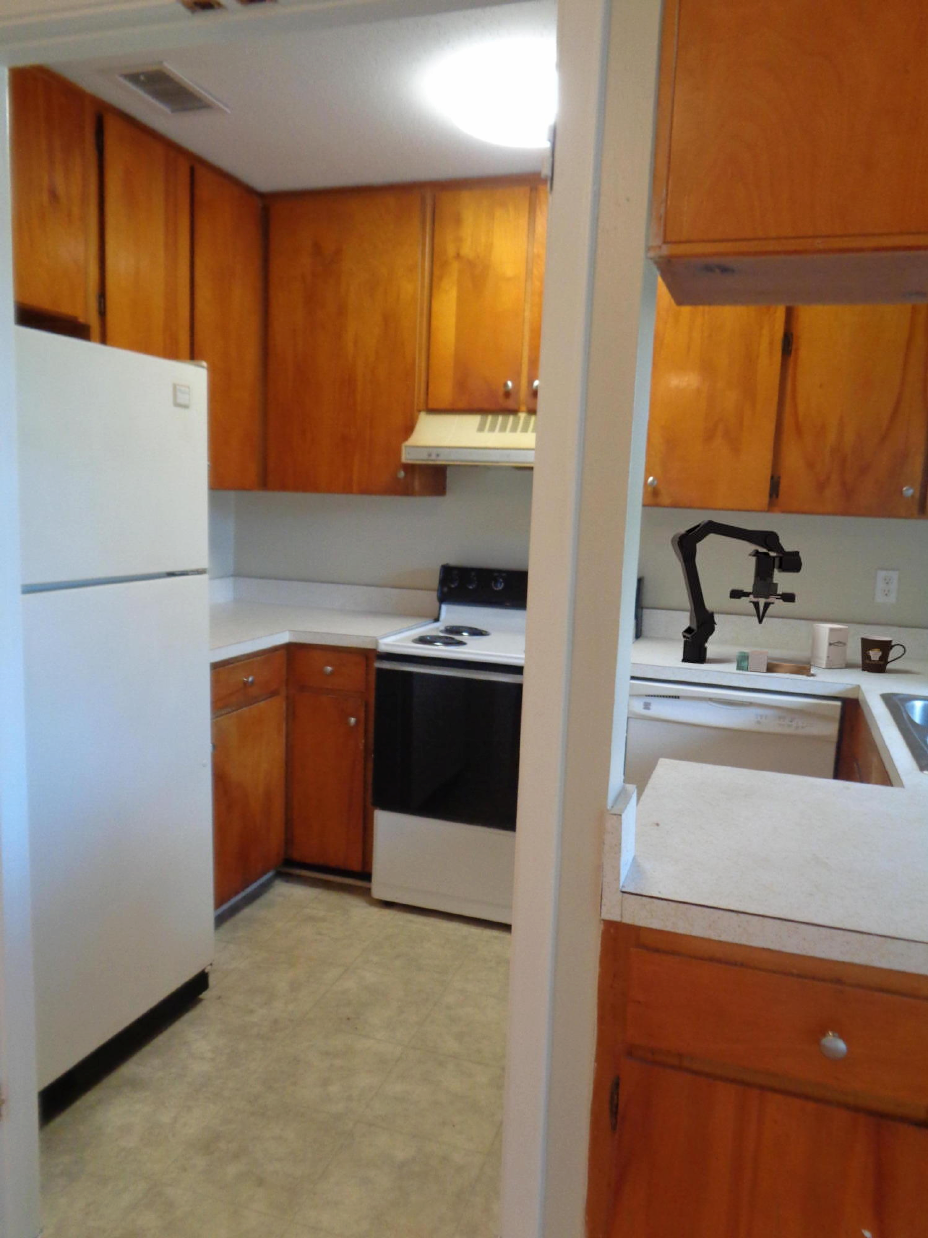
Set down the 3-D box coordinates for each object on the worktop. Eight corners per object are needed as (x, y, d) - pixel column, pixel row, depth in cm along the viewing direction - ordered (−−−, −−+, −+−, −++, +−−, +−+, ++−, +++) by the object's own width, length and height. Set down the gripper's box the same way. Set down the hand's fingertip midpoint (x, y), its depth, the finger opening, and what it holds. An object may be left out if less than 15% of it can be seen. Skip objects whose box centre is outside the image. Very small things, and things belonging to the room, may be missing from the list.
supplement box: (824, 668, 266) (828, 626, 264) (809, 664, 273) (812, 623, 272) (845, 668, 268) (849, 626, 266) (829, 664, 275) (833, 623, 274)
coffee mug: (852, 670, 266) (855, 636, 264) (866, 667, 271) (869, 634, 270) (891, 676, 257) (894, 642, 256) (905, 673, 262) (908, 640, 261)
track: (736, 670, 258) (737, 654, 258) (737, 666, 265) (738, 651, 264) (810, 677, 251) (811, 661, 251) (810, 673, 258) (811, 657, 257)
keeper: (747, 670, 257) (749, 653, 257) (749, 666, 264) (750, 649, 263) (765, 672, 255) (767, 655, 255) (766, 668, 262) (768, 651, 261)
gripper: (729, 572, 264) (726, 624, 266) (797, 575, 258) (792, 629, 260) (732, 569, 274) (728, 620, 276) (797, 573, 268) (793, 625, 270)
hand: (760, 623), depth 270 cm, fingers closed
